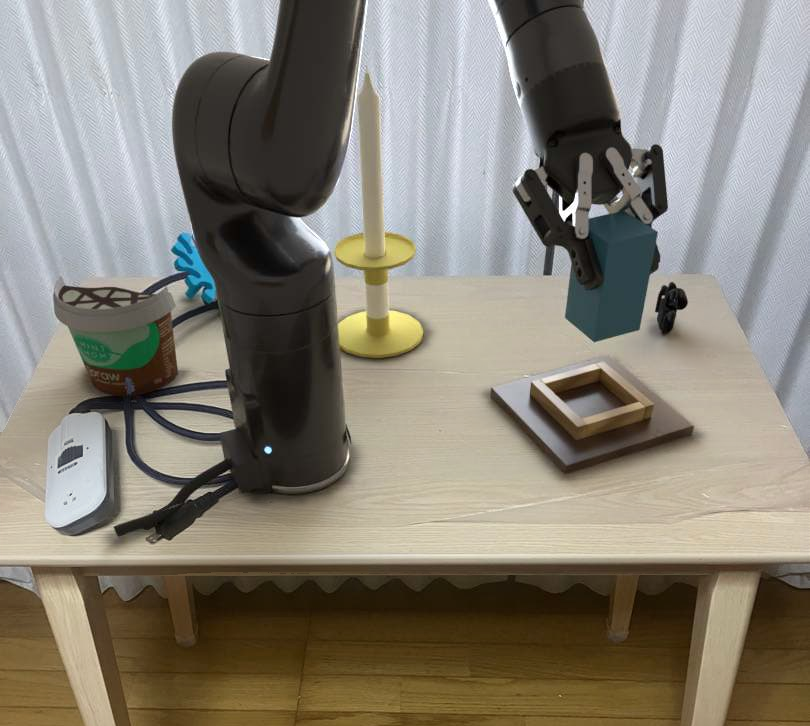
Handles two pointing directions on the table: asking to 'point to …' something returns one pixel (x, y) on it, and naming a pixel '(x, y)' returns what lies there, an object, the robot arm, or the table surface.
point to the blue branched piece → (193, 268)
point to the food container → (120, 335)
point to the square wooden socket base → (590, 413)
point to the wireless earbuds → (669, 306)
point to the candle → (375, 251)
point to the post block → (614, 278)
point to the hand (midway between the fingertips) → (622, 279)
